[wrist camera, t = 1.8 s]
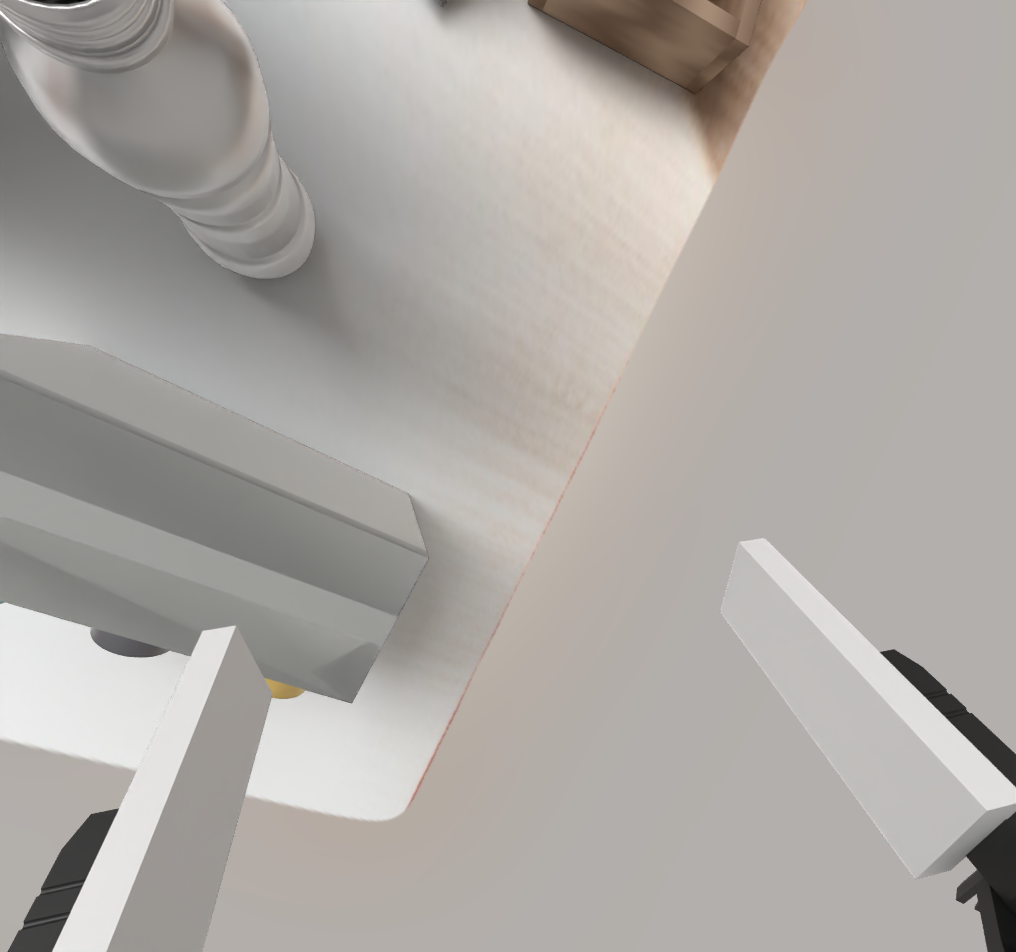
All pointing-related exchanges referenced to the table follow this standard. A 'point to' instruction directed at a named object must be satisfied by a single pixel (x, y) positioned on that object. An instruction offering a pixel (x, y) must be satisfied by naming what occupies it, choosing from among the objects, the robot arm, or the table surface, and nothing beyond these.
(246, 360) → the table surface
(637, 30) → the organizer frame
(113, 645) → the charcoal button
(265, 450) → the console
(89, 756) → the table surface
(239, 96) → the plastic bottle
